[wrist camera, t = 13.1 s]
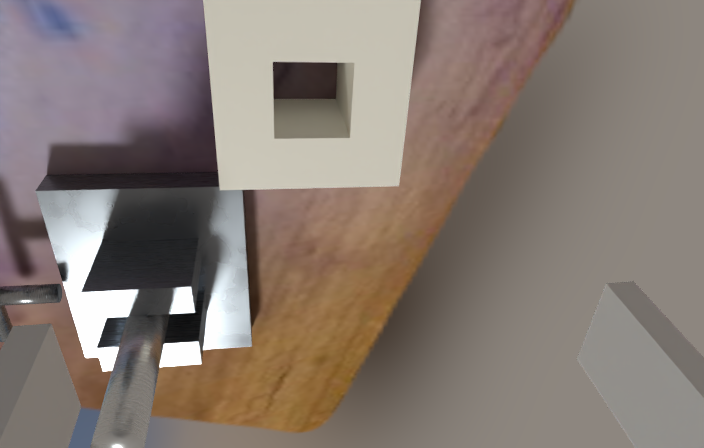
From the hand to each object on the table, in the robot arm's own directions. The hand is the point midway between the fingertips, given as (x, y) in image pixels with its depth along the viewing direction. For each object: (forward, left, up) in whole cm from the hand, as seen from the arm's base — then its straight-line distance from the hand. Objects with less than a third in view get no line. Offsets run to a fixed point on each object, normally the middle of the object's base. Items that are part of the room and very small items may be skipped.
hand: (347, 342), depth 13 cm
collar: (0, +1, -23) cm, 23 cm away
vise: (+14, -12, -23) cm, 29 cm away
